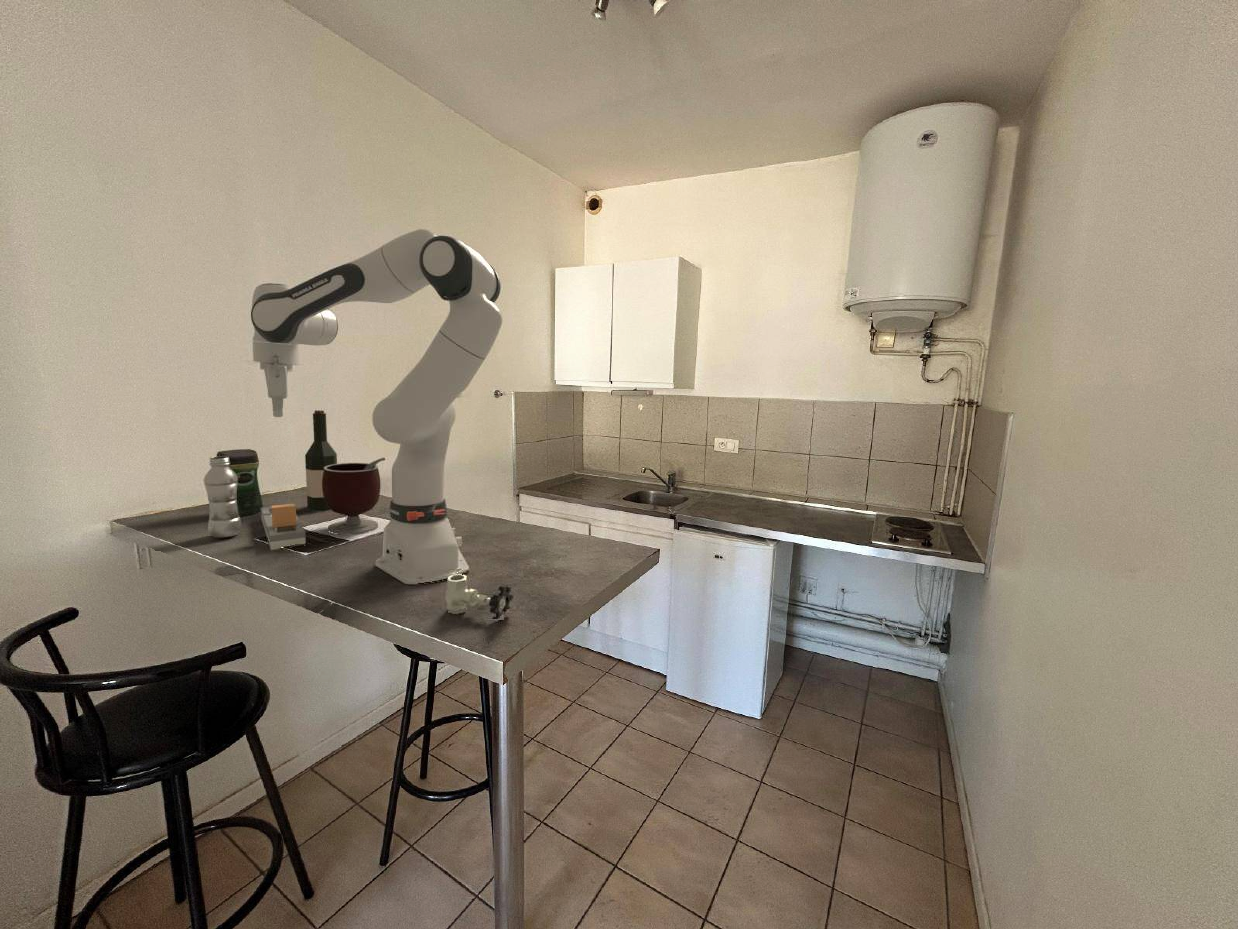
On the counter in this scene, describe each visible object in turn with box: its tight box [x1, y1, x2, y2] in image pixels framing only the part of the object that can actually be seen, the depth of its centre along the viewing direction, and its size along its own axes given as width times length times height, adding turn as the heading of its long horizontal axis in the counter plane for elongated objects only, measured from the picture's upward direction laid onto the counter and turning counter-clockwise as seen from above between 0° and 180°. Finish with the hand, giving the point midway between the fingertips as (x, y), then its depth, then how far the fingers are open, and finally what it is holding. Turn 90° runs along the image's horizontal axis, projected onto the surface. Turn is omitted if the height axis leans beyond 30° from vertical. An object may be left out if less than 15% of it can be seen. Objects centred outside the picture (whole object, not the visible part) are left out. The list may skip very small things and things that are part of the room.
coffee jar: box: [215, 448, 264, 517], centre depth 140 cm, size 10×8×19 cm
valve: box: [444, 574, 514, 619], centre depth 90 cm, size 7×7×12 cm
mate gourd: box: [322, 457, 386, 535], centre depth 133 cm, size 16×14×20 cm
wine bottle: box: [304, 409, 338, 512], centre depth 149 cm, size 8×8×30 cm
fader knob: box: [270, 503, 297, 533], centre depth 122 cm, size 3×5×7 cm, turn 129°
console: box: [260, 506, 307, 551], centre depth 128 cm, size 28×7×4 cm, turn 39°
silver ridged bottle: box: [203, 456, 243, 539], centre depth 121 cm, size 6×7×20 cm
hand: (277, 414), depth 118 cm, fingers open, 8 cm apart
